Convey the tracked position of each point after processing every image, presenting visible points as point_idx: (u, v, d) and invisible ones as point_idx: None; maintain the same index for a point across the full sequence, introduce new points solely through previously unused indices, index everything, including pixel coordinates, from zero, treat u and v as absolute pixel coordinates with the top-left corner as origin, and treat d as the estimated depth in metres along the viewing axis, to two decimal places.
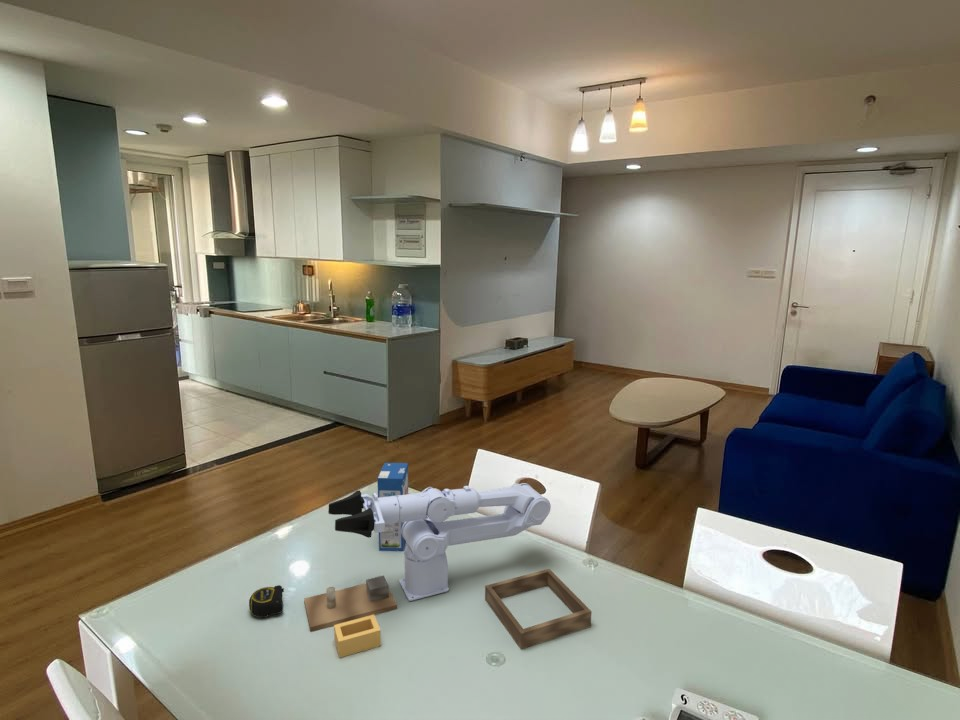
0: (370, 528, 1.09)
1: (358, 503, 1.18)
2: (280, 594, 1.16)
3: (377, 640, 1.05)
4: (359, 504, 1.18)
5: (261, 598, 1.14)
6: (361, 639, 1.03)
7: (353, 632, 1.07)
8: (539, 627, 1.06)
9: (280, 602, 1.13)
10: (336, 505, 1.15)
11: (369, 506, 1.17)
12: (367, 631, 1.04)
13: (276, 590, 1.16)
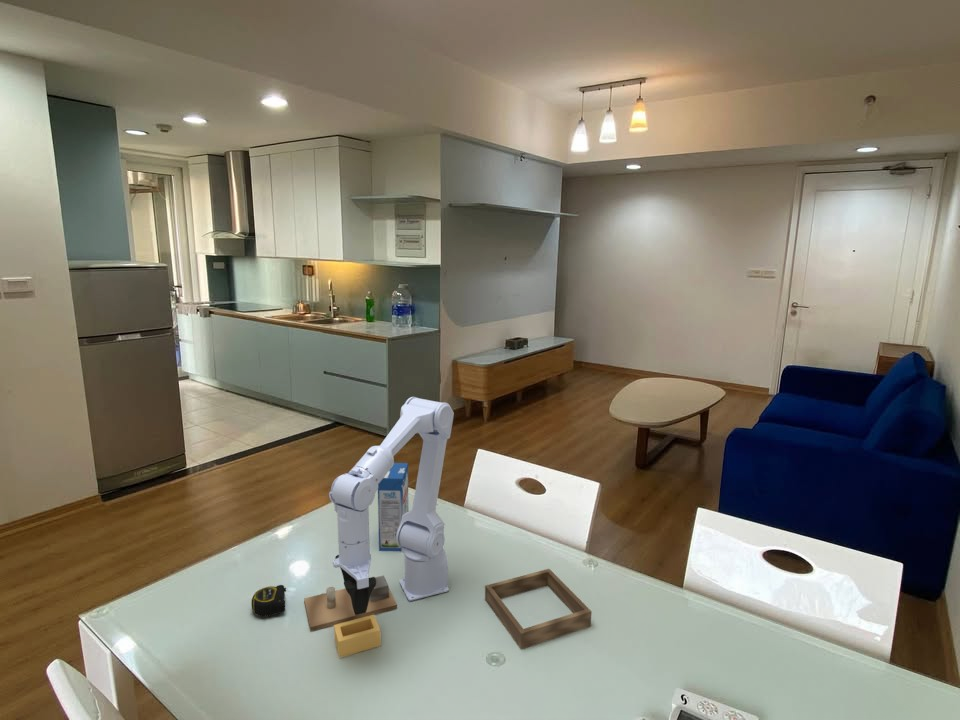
0: (364, 587, 0.98)
1: None
2: (282, 593, 1.16)
3: (377, 640, 1.05)
4: None
5: (263, 598, 1.14)
6: (361, 639, 1.03)
7: (353, 632, 1.07)
8: (539, 627, 1.06)
9: (283, 601, 1.14)
10: None
11: None
12: (367, 631, 1.04)
13: (278, 590, 1.17)
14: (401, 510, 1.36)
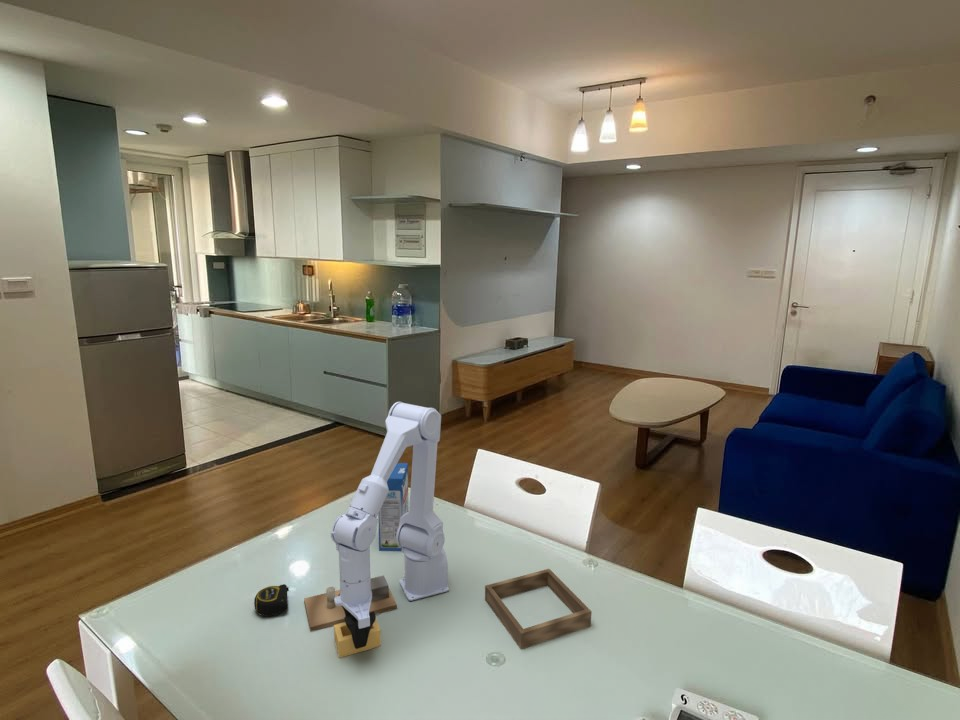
0: None
1: None
2: (285, 593, 1.16)
3: (377, 640, 1.05)
4: None
5: (266, 597, 1.14)
6: None
7: None
8: (539, 627, 1.06)
9: (285, 601, 1.14)
10: None
11: None
12: None
13: (281, 589, 1.17)
14: (401, 510, 1.36)
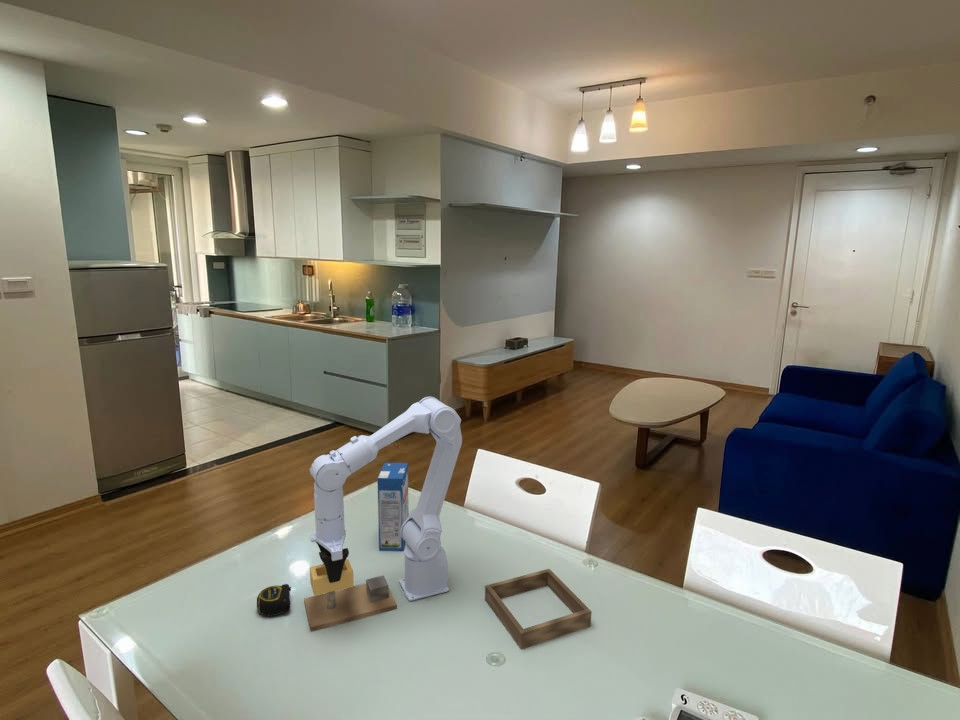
0: None
1: None
2: (287, 593, 1.16)
3: (350, 581, 1.12)
4: None
5: (269, 597, 1.14)
6: None
7: None
8: (539, 627, 1.06)
9: (288, 601, 1.14)
10: None
11: None
12: None
13: (283, 589, 1.17)
14: (401, 510, 1.36)
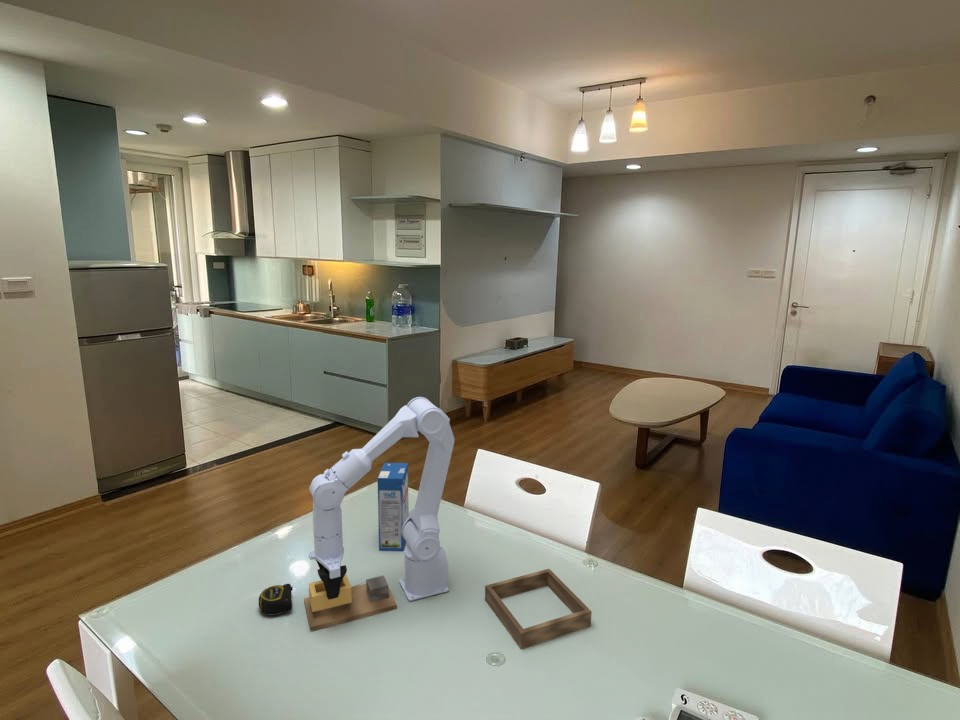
0: None
1: None
2: (289, 592, 1.16)
3: (348, 597, 1.14)
4: None
5: (271, 596, 1.14)
6: None
7: None
8: (539, 627, 1.06)
9: (290, 600, 1.14)
10: None
11: None
12: None
13: (285, 589, 1.17)
14: (401, 510, 1.36)
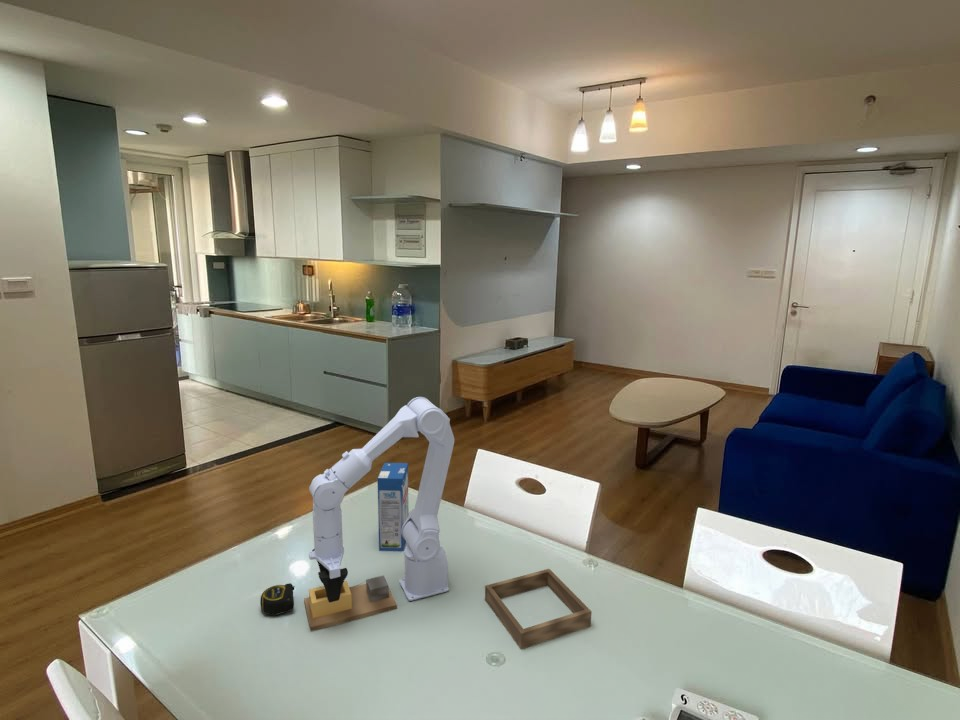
0: (337, 577, 1.08)
1: None
2: (291, 592, 1.17)
3: (348, 603, 1.14)
4: None
5: (272, 596, 1.14)
6: (333, 602, 1.13)
7: None
8: (539, 627, 1.06)
9: (291, 600, 1.14)
10: None
11: None
12: None
13: (286, 588, 1.17)
14: (401, 510, 1.36)
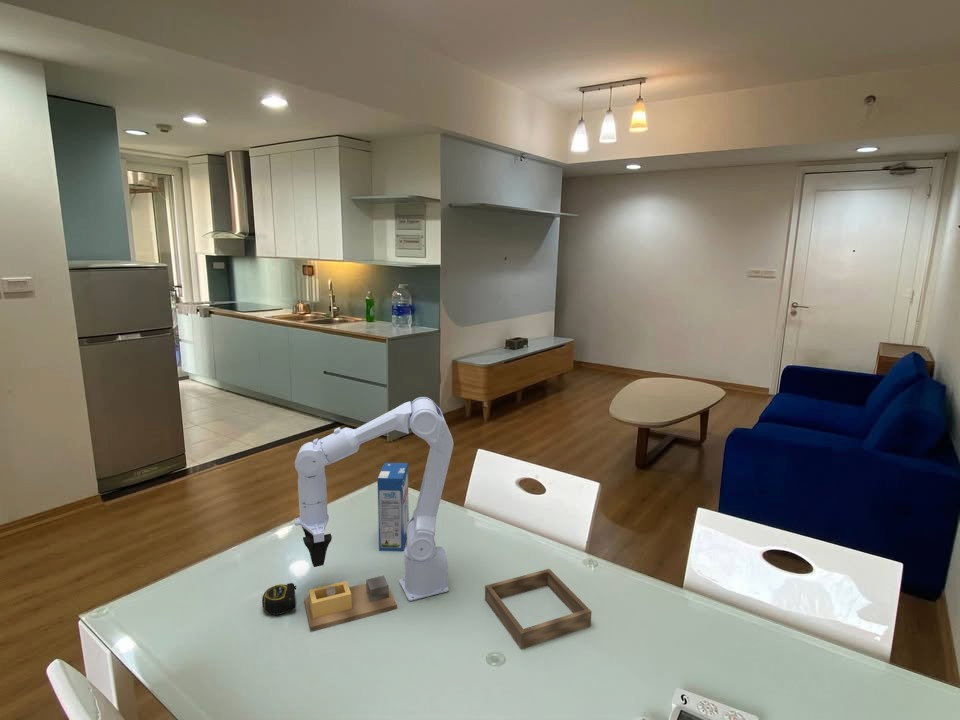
0: (321, 541, 1.12)
1: None
2: (293, 592, 1.17)
3: (348, 603, 1.14)
4: None
5: (274, 596, 1.15)
6: (333, 602, 1.13)
7: None
8: (539, 627, 1.06)
9: (293, 600, 1.14)
10: None
11: None
12: (339, 595, 1.14)
13: (288, 588, 1.17)
14: (401, 510, 1.36)
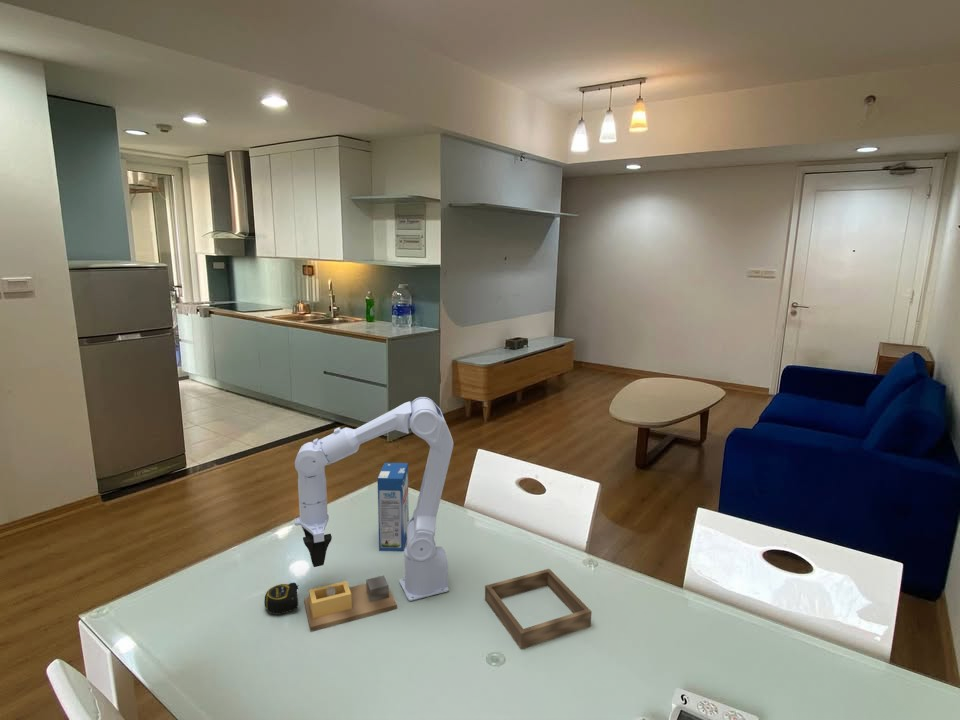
0: (321, 541, 1.12)
1: None
2: (295, 591, 1.17)
3: (348, 603, 1.14)
4: None
5: (276, 595, 1.15)
6: (333, 602, 1.13)
7: None
8: (539, 627, 1.06)
9: (295, 599, 1.14)
10: None
11: None
12: (339, 595, 1.14)
13: (290, 587, 1.17)
14: (401, 510, 1.36)
